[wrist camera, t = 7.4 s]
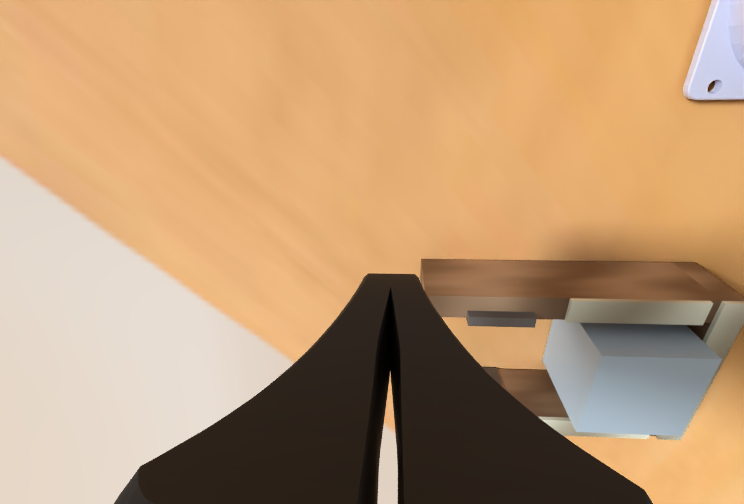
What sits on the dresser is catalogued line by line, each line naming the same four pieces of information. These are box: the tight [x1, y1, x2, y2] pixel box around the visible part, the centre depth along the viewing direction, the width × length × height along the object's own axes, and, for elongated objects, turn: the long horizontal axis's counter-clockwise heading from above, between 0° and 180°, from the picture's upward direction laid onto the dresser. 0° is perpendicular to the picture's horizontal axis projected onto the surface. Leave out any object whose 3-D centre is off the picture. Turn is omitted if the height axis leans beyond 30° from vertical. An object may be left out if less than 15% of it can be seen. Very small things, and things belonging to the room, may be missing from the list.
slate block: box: [542, 319, 722, 436], centre depth 20 cm, size 5×5×5 cm
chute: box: [420, 259, 744, 440], centre depth 21 cm, size 14×9×4 cm, turn 91°
